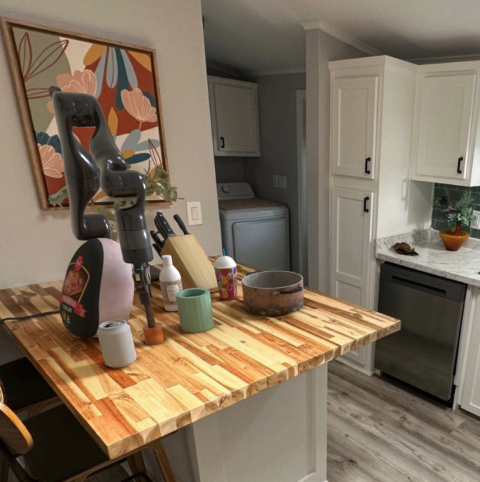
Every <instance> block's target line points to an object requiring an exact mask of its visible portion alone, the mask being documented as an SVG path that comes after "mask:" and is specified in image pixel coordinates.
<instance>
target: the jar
mask: <svg viewBox="0 0 480 482" xmlns="http://www.w3.org/2000/svg"><path fill="white" fill-rule="evenodd" d="M175 296H176V302H177V308H178V311H177V314H178V319H179V325H180V329H181V331H182V332H185V333H201V332H206V331H209V330H210V329H212V328H213V327H214V326H215V321H214V313H213V307H212V306H213V305H212V299H211V292H210V291H209V290H208V289H204V288H190V289H185V290H181V291H179V292H177V293H176V295H175Z"/></svg>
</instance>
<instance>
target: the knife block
mask: <svg viewBox="0 0 480 482" xmlns="http://www.w3.org/2000/svg"><path fill="white" fill-rule="evenodd" d="M172 218H173V220H174V221H175V222H176V224H177V225H178V227H179V229H180V231H182V233H183V234H182V235H180V234H176V233H175V232H174V230H173V228H172V227H171V225H170V223H169V222H168V219H166V217H165V216H164V214H163V211H161V210H157V211H156V215H154V218H153V224H154V226H155V228H156V230H157V231H156V232H155V230H154V229H150V230H149V236H150V238H151V239H152V240H153V242H154V243H151V247H152V248H153V249H154V250H155V252H156V254H157V255H158V257H159V258H160V259H161V260H162V256H164V255H171V259H172V265H173V266H174V267H175V268H176V269H177V271H178V272H179V274H180V276H181V282H182V288H183V290H185V289H190V288H204V289H208V290H209V291H210V293H213V292H214V293H215V292H219V290H218V285H217V280H216V275H215V270H214V265H213V264H212V262H211V261H210V258H208V256H207V254H206V252H205V251H204V250H203V247H202V246H201V244H200V242H199V241H198V239H197V238H196V236H195V235H194V233H190V232H189V231H188V229H187V227H186V224H185V223H184V220H183V219H182V218H181V217H180V215H179V214H178V213H176V214H173V216H172ZM158 234H159V235H160V236H161V237H162V238H163V240H162V239H161V238H160V237H159V236H158Z"/></svg>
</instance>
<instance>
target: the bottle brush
mask: <svg viewBox="0 0 480 482" xmlns="http://www.w3.org/2000/svg"><path fill="white" fill-rule="evenodd" d="M147 287H148V285H147ZM140 288H143V286H140ZM148 294H149V289H148ZM151 299H152V298H150V294H149V300H150V304H147V305H143V308H144V313H145V317H146V323H147V324H145V325H144V326H142V332H143V337H144V341H145V344H146V345H149V346H152V345H158V344H159V345H160V344H161V343H163V342H164V341H165V338H164V332H163V328H162V324H161V323H156V320H155V315H154V311H153V305H152V300H151Z"/></svg>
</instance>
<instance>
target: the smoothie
mask: <svg viewBox="0 0 480 482" xmlns="http://www.w3.org/2000/svg"><path fill="white" fill-rule="evenodd" d="M221 251H222V255H221V256H219V257H217V258H216V260H215V261H214V264H213V268H214V270H215V275H216V280H217V285H218V295H219V297H220V298H221V300H223V301H232V300H235V299H237V296H238V295H239V293H238V272H237V271H238V270H237V263H236V262H235V260H234V259H233V258H232V257H231V256H228V255H226V254H225V253H226V252H225V249H224V248H222V250H221Z"/></svg>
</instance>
